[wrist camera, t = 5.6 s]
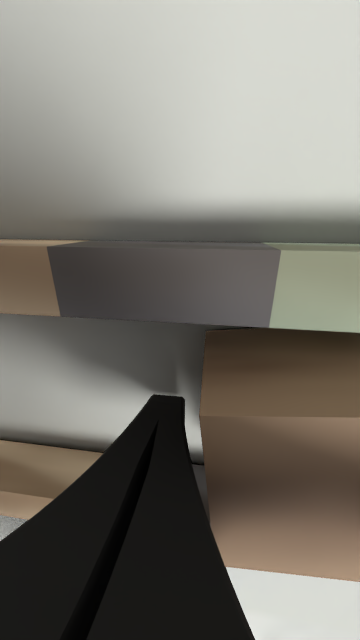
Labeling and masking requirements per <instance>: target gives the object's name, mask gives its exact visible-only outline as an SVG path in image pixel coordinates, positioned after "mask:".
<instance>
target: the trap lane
mask: <svg viewBox="0 0 360 640" xmlns="http://www.w3.org/2000/svg"><path fill="white" fill-rule="evenodd" d="M0 313H5V314H24V315H42V316H61V317H79V318H97V319H116V320H134V321H153V322H171V323H189V324H208V325H226V326H245V327H263V328H282V329H300V330H318V331H337V332H355V333H360V244H337V243H257V242H178V241H98V240H18V239H0ZM102 454H103V453H98V452H90V451H82V450H75V449H67V448H59V447H51V446H43V445H35V444H27V443H19V442H11V441H3V440H0V515H3V516H9V517H15V518H21V519H27V520H29V519H30V518H32V517H33V516H34V515H35V514H37V513H38V512H39V511H40V510H42V509H43V508H44V507H45V506H46V505H48V504H49V503H50V502H51V501H52V500H54V499H55V498H56V497H57V496H58V495H59V494H61V493H62V492H63V491H64V490H65V489H66V488H68V487H69V486H70V485H71V484H72V483H73V482H74V481H75V480H76V479H78V478H79V477H80V476H81V475H82V474H83V473H84V472H85V471H86V470H87V469H88V468H89V467H90V466H91V465H92V464H93V463H94V462H95V461H96V460H97V459H98V458H99V457H100V456H101V455H102ZM192 466H193V470H194V474H195V478H196V482H197V485H198V489H199V492H200V496H201V499H202V502H203V505H204V508H205V512H206V515H207V518H208V521H209V524H210V527H211V523H210V513H209V504H208V494H207V485H206V475H205V466H202V465H194V464H192Z"/></svg>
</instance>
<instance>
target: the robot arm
mask: <svg viewBox="0 0 360 640" xmlns="http://www.w3.org/2000/svg"><path fill="white" fill-rule="evenodd" d="M0 640H255V638H254V636H253V634H252V631H251V629H250V627H249V624H248V622H247V620H246V617H245V615H244V613H243V610H242V608H241V605H240V603H239V600H238V598H237V595H236V593H235V590H234V588H233V585H232V583H231V580H230V578H229V575H228V573H227V570H226V567H225V565H224V562H223V559H222V557H221V554H220V551H219V548H218V546H217V543H216V540H215V538H214V535H213V532H212V530H211V527H210V524H209V521H208V518H207V515H206V512H205V508H204V505H203V502H202V499H201V496H200V492H199V489H198V485H197V482H196V478H195V474H194V470H193V466H192V462H191V458H190V453H189V449H188V443H187V438H186V432H185V399H184V398H183V397H177V396H166V395H155V394H154V395H152V396H151V397H150V399H149V400H148V402H147V403H146V404H145V406H144V407H143V408H142V410H141V411H140V412H139V413H138V415H137V416H136V417H135V418H134V420H133V421H132V422H131V423H130V424H129V426H128V427H127V428H126V429H125V430H124V431H123V433H122V434H121V435H120V436H119V437H118V438H117V439H116V440H115V442H114V443H113V444H112V445H111V446H110V447H109V448H108V449H107V450H106V451H105V452H104V453H103V454H102V455H101V456H100V457H99V458H98V459H97V460H96V461H95V462H94V463H93V464H92V465H91V466H90V467H89V468H88V469H87V470H86V471H85V472H84V473H83V474H82V475H81V476H80V477H79V478H78V479H76V480H75V481H74V482H73V483H72V484H71V485H70V486H69V487H68V488H66V489H65V490H64V491H63V492H62V493H61V494H59V495H58V496H57V497H56V498H55V499H54V500H52V501H51V502H50V503H49V504H48V505H46V506H45V507H44V508H43V509H42V510H40V511H39V512H38V513H37V514H35V515H34V516H33V517H32V518H30V519H29V520H28V521H26V522H25V523H24V524H22V525H21V526H20V527H19V528H17V529H16V530H15V531H13V532H12V533H11V534H9V535H8V536H7V537H5V538H4V539H3V540H1V541H0Z"/></svg>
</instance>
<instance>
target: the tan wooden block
mask: <svg viewBox="0 0 360 640" xmlns="http://www.w3.org/2000/svg"><path fill="white" fill-rule="evenodd" d="M199 418H200V427H201V437H202V446H203V456H204V465H205V475H206V485H207V494H208V504H209V513H210V523H211V530H212V532H213V535H214V538H215V540H216V543H217V546H218V548H219V551H220V554H221V557H222V559H223V562H224V565H225V567H233V568H242V569H251V570H259V571H268V572H277V573H286V574H295V575H303V576H312V577H321V578H330V579H339V580H347V581H356V582H360V333H355V332H337V331H318V330H300V329H282V328H255V329H234V330H213V331H206V333H205V347H204V360H203V373H202V387H201V400H200V413H199Z"/></svg>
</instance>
